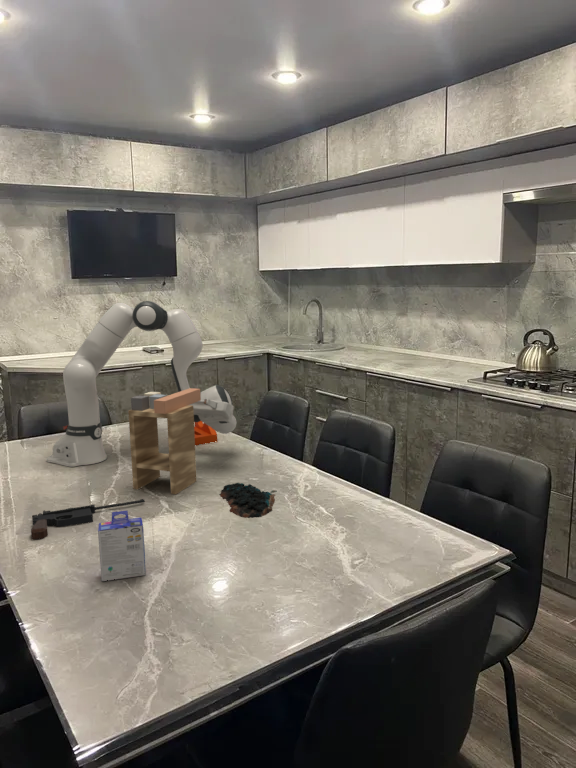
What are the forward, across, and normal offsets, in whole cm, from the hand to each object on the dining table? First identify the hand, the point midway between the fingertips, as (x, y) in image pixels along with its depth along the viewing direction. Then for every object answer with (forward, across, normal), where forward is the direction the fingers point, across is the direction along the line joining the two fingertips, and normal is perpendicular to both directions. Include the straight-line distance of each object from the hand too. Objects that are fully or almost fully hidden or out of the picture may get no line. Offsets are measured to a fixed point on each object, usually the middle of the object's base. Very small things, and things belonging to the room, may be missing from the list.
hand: (193, 400), depth 202 cm
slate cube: (+12, -5, +7) cm, 15 cm away
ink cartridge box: (+46, +20, +57) cm, 76 cm away
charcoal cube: (+15, -10, +9) cm, 20 cm away
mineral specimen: (+1, +29, +32) cm, 43 cm away
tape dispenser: (-48, -24, +3) cm, 54 cm away
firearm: (+26, -8, +46) cm, 54 cm away
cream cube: (+9, -9, +5) cm, 14 cm away
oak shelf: (-1, -4, +30) cm, 30 cm away
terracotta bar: (+8, 0, +5) cm, 10 cm away
